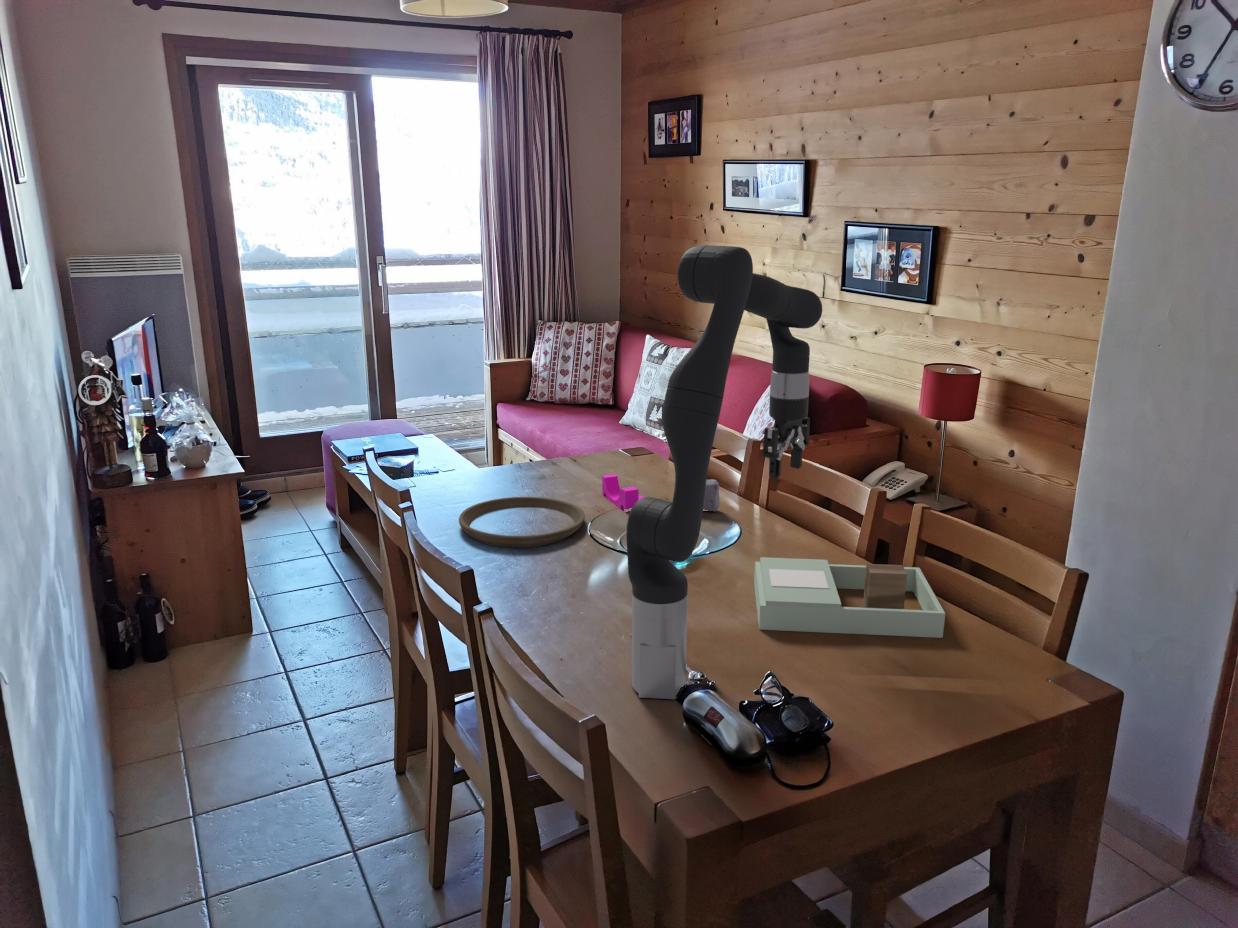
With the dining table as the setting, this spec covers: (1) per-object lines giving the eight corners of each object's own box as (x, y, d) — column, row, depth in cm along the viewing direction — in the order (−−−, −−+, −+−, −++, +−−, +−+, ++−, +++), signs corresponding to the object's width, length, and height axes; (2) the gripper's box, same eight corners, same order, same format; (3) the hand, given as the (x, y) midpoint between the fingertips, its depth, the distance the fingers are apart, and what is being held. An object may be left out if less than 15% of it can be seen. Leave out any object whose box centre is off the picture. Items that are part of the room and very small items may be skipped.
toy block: (647, 515, 234) (647, 488, 232) (625, 518, 232) (625, 491, 230) (622, 499, 248) (622, 473, 246) (602, 502, 245) (602, 475, 243)
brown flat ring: (562, 505, 242) (562, 489, 241) (602, 544, 215) (602, 526, 213) (448, 519, 231) (447, 503, 230) (475, 562, 204) (474, 543, 202)
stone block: (672, 514, 235) (673, 477, 232) (679, 509, 239) (680, 473, 236) (714, 521, 229) (715, 484, 227) (721, 515, 233) (722, 479, 231)
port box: (942, 637, 167) (946, 607, 166) (759, 629, 171) (760, 599, 169) (917, 589, 188) (919, 562, 187) (754, 583, 192) (755, 556, 190)
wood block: (903, 616, 176) (907, 573, 174) (866, 614, 177) (870, 572, 174) (898, 606, 181) (902, 565, 178) (863, 605, 181) (866, 563, 179)
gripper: (787, 402, 168) (783, 484, 173) (823, 390, 179) (819, 467, 183) (753, 397, 173) (750, 477, 177) (790, 385, 183) (786, 461, 188)
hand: (785, 472), depth 180 cm, fingers open, 8 cm apart
